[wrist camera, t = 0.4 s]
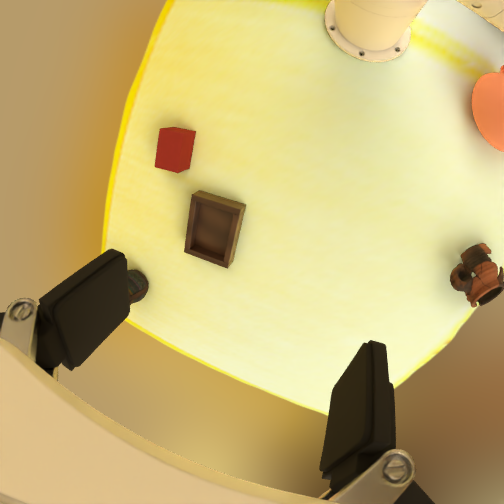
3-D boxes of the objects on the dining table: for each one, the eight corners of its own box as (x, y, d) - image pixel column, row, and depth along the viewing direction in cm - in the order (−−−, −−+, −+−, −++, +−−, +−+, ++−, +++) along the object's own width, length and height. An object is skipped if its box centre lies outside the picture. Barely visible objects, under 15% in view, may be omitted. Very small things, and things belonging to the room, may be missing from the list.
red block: (173, 126, 43) (159, 128, 40) (196, 131, 43) (183, 133, 39) (167, 162, 46) (154, 167, 43) (189, 168, 46) (177, 173, 42)
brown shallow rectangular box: (199, 190, 47) (191, 194, 45) (246, 204, 46) (240, 209, 43) (191, 245, 52) (183, 252, 50) (233, 261, 51) (227, 268, 49)
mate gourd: (149, 268, 58) (121, 292, 50) (155, 297, 62) (130, 323, 53) (124, 262, 60) (96, 285, 51) (131, 290, 63) (105, 314, 55)
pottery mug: (497, 237, 35) (517, 276, 30) (476, 269, 42) (491, 305, 37) (449, 245, 36) (470, 290, 31) (430, 278, 43) (445, 319, 38)
